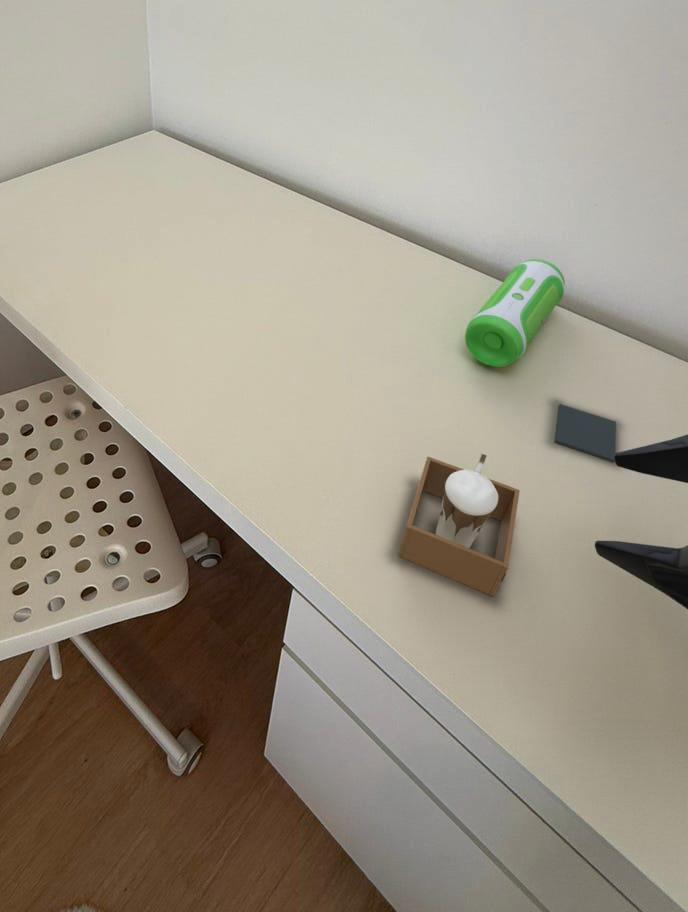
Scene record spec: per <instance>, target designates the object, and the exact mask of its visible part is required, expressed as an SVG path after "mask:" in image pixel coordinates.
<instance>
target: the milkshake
mask: <svg viewBox="0 0 688 912" xmlns="http://www.w3.org/2000/svg"><path fill="white" fill-rule="evenodd" d="M486 459H487V454H485V453H480V456H479V459H478V462H477V465H476V468H475V470H469V469H464V470H460V471H457V472H454V473H452V474H451V475H450V476H449V477H448V479H447V481H446V484H445V489H444V495H443V498H442V502H441V507H440V512H439V516H438V521H437V525H436V529H435V533H434V534H435V535H438V536H440V537H443V538H445V539H448V540H450V541H452V542H455V543H457V544H460V545H462V546H465V547H467V548H470V549H471V547H472V545H473V543H474V542H475V540H476V538H477V536H478V535H479V533H480V532H481V530H482V528H483V527H484V525H485V524H486V522H487V520H488V519H489V518H490V515H491V513H492V512H493V510H494V509H495V507H496V506H497V503H498V493H497V491H496V489H495V487H494V485H493V484H492V482H491V481H490V480H489V479H490V478H489V477H486V476H485V475H483V474H481V472H482V470H483V467H484V465H485V461H486Z"/></svg>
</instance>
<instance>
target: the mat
mask: <svg viewBox="0 0 688 912" xmlns="http://www.w3.org/2000/svg"><path fill="white" fill-rule="evenodd" d="M557 409H558V410H557V417H556V426H555V427H556V428H555V435H554V443H556V444H559V445H562V446H564V447H568V448H571V449H574V450H576V451H578V452H582V453H584V454H589V455H592V456H595V457H598V458H600V459H603V460H607V461H609V462H611V463H615V460H614V455H615V453H616V440H617V439H616V438H617V437H616V435H617V434H616V433H617V421H615V420H612V419H609V418H605V417H602V416H599V415H596V414H593V413H591V412H587V411H584V410H580V409H577V408H574V407H571V406H568V405H565V404H562V403H559V405H558V407H557Z"/></svg>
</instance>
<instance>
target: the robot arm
mask: <svg viewBox="0 0 688 912" xmlns="http://www.w3.org/2000/svg"><path fill="white" fill-rule="evenodd" d="M614 460H615V461H614V463H615V465H616V466H617V467H618V468H622V469H625V470H628V471H632V472H635V473H639V474H643V475H648V476H653V477H657V478H661V479H666V480H671V481H676V482H681V483H685V484H688V433H687V434H685V435H681V436H678V437H674V438H672V439H667V440H664V441H660V442H655V443H652V444H647V445H643V446H639V447H634V448H631V449H626V450H622V451H618V452H615V455H614ZM594 548H595V552H596V554H597V555H598V556H599V557H600V558H603V559H604V560H606V561H608V562H610V563H611V564H613V565H614V566H617V567H619V568H620V569H622V570H623V571H625V572H626V573H628V574H630V575H631V576H634V577H636V578H637V579H639V580H640V581H642V582H644V583H646V584H648V585H649V586H651V587H653V589H656V590H657V591H659V592H660V593H662V594H665V595H666V596H667V597H669V598H670V599H671V600H673V601H674V602H676V603H677V604H679V605H680V606H682V607H683V608H684V609H686V610H688V544H687V545H685V546H683V547H670V546H661V545H653V544H644V543H638V542H637V543H636V542H628V541H619V540H595V542H594Z"/></svg>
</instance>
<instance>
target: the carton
mask: <svg viewBox="0 0 688 912" xmlns="http://www.w3.org/2000/svg"><path fill="white" fill-rule="evenodd" d="M460 470H465V469H464V468H461V467H458V466H456V465H452V464H450V463H447V462H444V461H441V460H439V459H436V458H434V457H431V456H426V460H425V463H424V467H423V469H422V473H421V475H420V478H419V482H418V485H417V488H416V492H415V495H414V499H413V502H412V506H411V509H410V512H409V515H408V519H407V523H406V526H405V530H404V532H403V536H402V539H401V542H400V547H399V550H398V553H397V556H398V557H399V558H402V559H404V560H406V561H408V562H411V563H414V564H416V565H418V566H420V567H423V568H425V569H427V570H429V571H432V572H434V573H437V574H439V575H440V576H441V575H442V576H444V577H446V578H449V579H451V580H453V581H456V582H458V583H461V584H462V585H466V586H467V587H470V588H472V589H475V590H476V591H479V592H482V593H484V594H486V595H489V596H491V597H494V596H495V594H496V592H497V589H498V588H499V586H500V584H501V583H503V581H504V579H505V577H506V575H507V570H508V568H509V562H510V557H511V556H510V555H511V550H512V543H513V537H514V530H515V524H516V517H517V510H518V503H519V498H520V491H521V490H520V489H518V488H515V487H513V486H510V485H507V484H505V483H502V482H499V481H496V480H494V479H491V478H488V479H489V480H490V481H491V482H492V484H493V485H494V487H495V489H496V491H497V493H498V503H497V506H496V507H495V509H494V510H493V512H492V513H491V515H490V516H489V518H492V519H496V520H498V521H500V527H499V531H498V538H497V542H496V543H497V544H496V549H495V555H494V557H492V556H489V555H487V554H484V553H482V552H479V551H476V550H474V549H472V548H471V547H470V548H467V547H465V546H462V545H460V544H457V543H455V542H452V541H450V540H448V539H445V538H443V537H440V536H438V535H435V533H432V532H431V531H427V530H426V529H423V528H420V527H418V526H416V525H413V524H414V521H415V517H416V513H417V511H418V507H419V503H420V499H421V495H422V493H423V492H424V493H425V492H426V493H427V494H431V495H433V496H435V497H438V498H441V499H443V495H444V489H445V484H446V481H447V479H448V477H449V476H450V475H451V474H452V473H454V472H457V471H460Z"/></svg>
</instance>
